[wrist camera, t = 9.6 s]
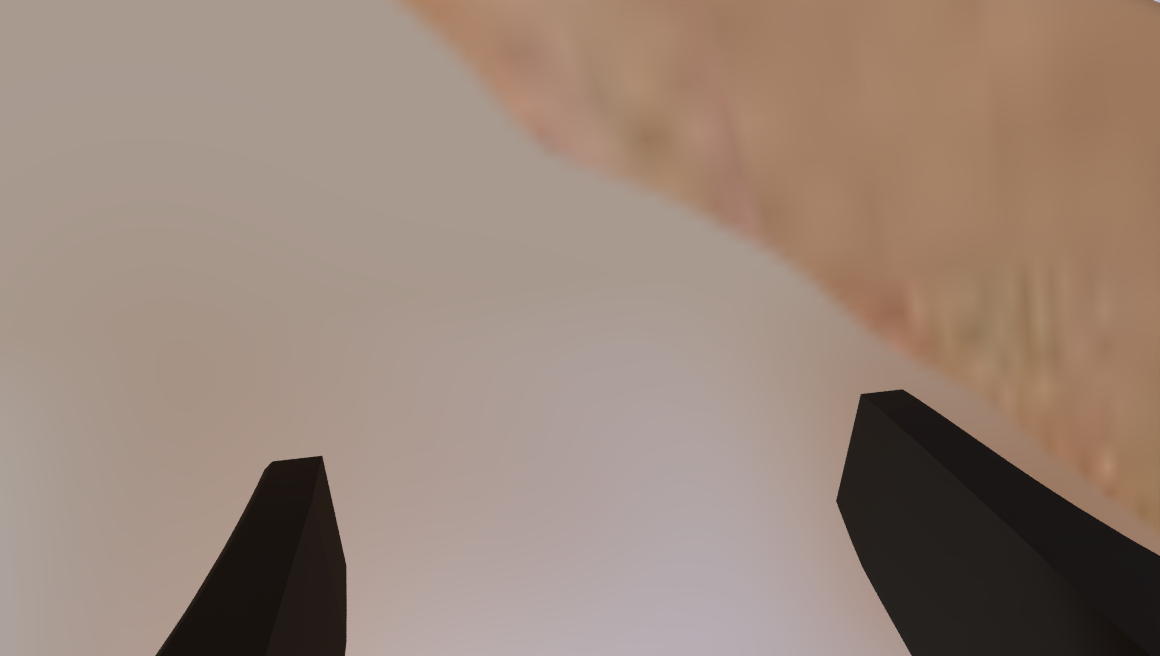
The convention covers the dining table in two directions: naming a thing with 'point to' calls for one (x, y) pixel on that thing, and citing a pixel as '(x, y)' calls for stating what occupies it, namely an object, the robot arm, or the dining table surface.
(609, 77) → the dining table surface
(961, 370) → the dining table surface
